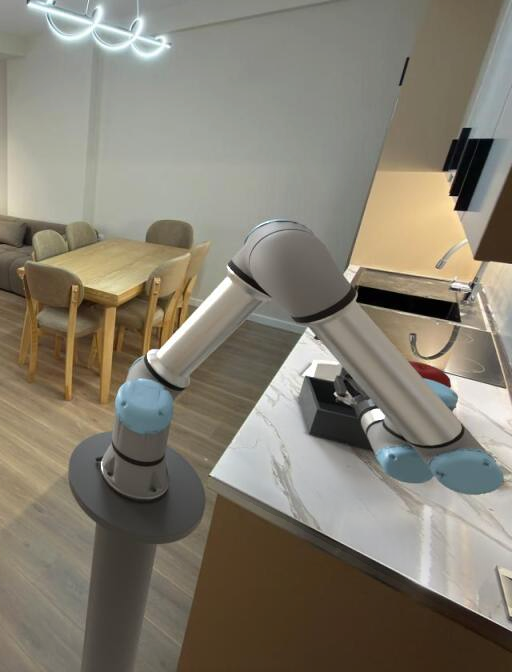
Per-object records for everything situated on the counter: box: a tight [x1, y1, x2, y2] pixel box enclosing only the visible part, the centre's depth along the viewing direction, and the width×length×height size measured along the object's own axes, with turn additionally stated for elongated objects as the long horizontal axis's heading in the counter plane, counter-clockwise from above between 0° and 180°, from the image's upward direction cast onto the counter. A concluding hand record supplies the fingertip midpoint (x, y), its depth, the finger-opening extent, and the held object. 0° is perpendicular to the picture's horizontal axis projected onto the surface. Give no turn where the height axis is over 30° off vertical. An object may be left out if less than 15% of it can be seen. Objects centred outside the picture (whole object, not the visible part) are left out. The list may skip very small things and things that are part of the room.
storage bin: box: [298, 375, 373, 451], centre depth 105 cm, size 18×18×8 cm
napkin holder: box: [301, 359, 342, 381], centre depth 125 cm, size 15×11×6 cm
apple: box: [407, 360, 452, 389], centre depth 112 cm, size 12×12×13 cm
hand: (353, 370), depth 106 cm, fingers closed on flask, 3 cm apart
